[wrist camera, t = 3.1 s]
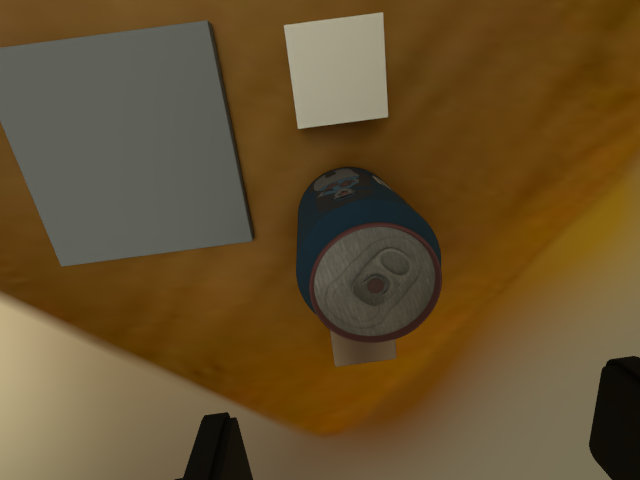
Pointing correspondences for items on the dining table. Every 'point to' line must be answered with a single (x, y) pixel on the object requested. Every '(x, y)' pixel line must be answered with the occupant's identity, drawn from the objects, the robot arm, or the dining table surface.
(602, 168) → the dining table surface
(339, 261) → the soda can
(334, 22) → the off-white block
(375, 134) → the dining table surface
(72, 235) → the mat
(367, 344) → the walnut block
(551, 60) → the dining table surface
